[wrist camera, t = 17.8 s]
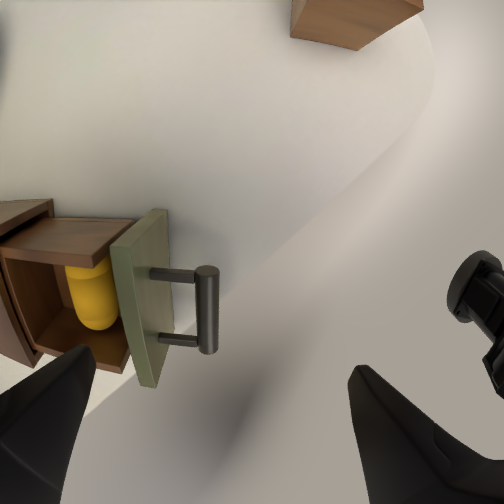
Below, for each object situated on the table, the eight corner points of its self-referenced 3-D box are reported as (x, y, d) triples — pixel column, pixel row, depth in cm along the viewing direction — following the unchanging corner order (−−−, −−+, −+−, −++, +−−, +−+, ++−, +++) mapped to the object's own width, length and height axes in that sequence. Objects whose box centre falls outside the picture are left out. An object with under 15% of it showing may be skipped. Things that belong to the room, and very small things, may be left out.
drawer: (226, 212, 18) (215, 253, 12) (222, 333, 22) (215, 396, 16) (45, 208, 18) (-9, 237, 11) (67, 311, 22) (33, 356, 15)
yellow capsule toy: (84, 231, 18) (51, 248, 15) (118, 237, 17) (83, 257, 14) (99, 307, 21) (73, 330, 17) (130, 319, 20) (105, 345, 17)
